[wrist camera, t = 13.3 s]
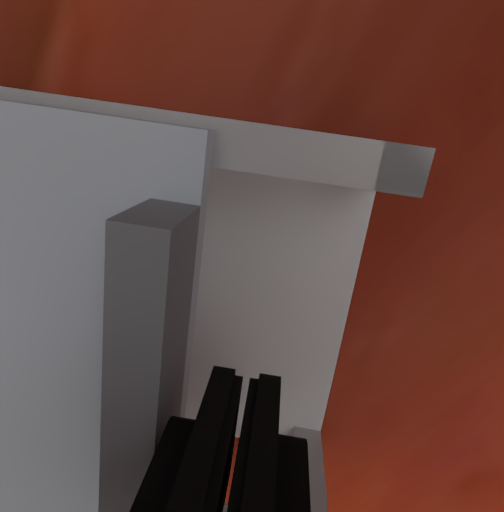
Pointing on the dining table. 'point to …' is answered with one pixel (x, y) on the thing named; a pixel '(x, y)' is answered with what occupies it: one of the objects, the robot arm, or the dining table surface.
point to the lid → (94, 299)
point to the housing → (278, 253)
